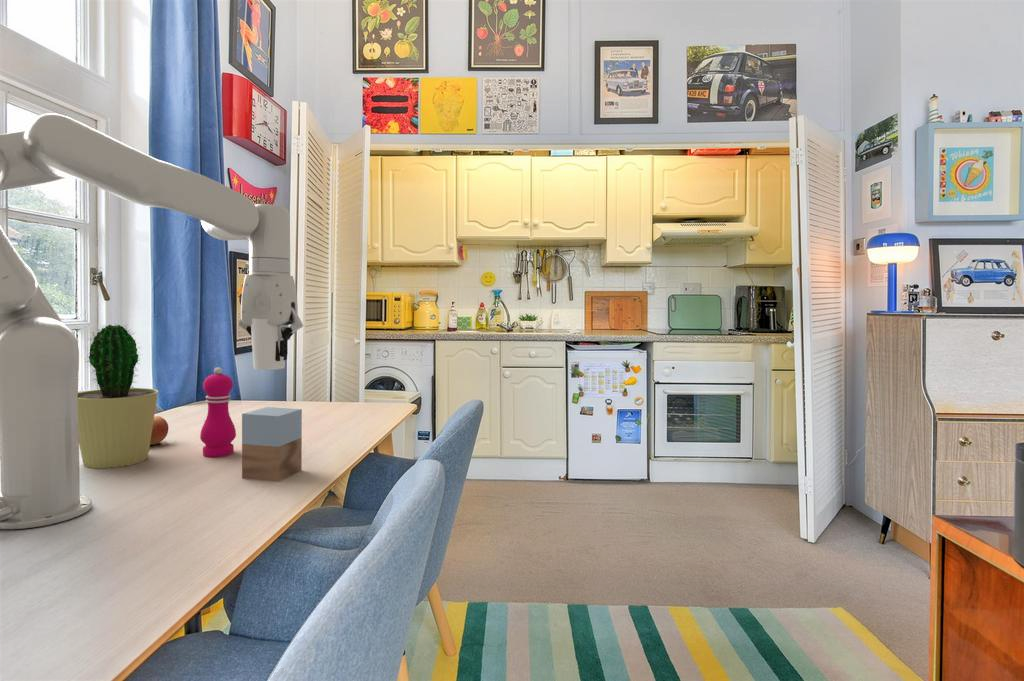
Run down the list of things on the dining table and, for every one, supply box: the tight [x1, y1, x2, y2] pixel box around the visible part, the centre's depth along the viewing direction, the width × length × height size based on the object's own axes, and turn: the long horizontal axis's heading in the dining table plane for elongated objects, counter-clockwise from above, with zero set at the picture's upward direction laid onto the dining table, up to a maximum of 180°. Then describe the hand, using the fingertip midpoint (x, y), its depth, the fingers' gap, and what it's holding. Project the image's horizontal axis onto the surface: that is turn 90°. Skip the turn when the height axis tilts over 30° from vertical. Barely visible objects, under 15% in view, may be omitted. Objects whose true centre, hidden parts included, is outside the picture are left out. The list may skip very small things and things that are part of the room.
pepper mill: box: [199, 366, 237, 458], centre depth 125 cm, size 7×7×20 cm
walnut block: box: [241, 437, 303, 483], centre depth 112 cm, size 8×8×7 cm
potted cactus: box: [78, 323, 159, 469], centre depth 117 cm, size 15×15×30 cm
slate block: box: [241, 406, 303, 447], centre depth 111 cm, size 8×8×6 cm
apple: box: [150, 415, 169, 446], centre depth 132 cm, size 8×8×8 cm
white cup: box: [251, 319, 286, 371], centre depth 110 cm, size 7×7×10 cm
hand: (271, 359), depth 110 cm, fingers closed on white cup, 3 cm apart
